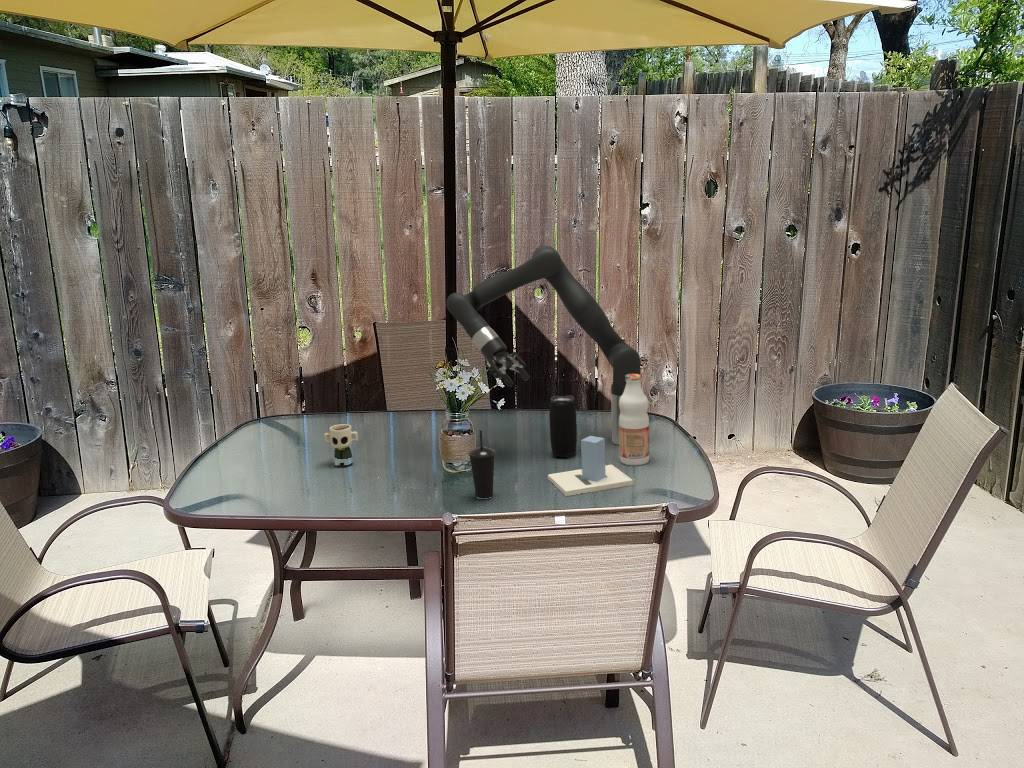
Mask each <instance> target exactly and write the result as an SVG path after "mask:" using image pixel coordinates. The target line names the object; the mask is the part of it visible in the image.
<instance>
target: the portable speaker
mask: <svg viewBox="0 0 1024 768" xmlns="http://www.w3.org/2000/svg"><path fill="white" fill-rule="evenodd" d="M549 399H550V402H549V438H550V448H551V451H552V452H551V453H552V454H551V455H552V457H553V456H554V457H553V458H555V457H557V458H558V457H565V458H566V459H568V458H569V459H571V458H574V457H576V454H577V442H578V441H577V440H578V437H577V436H578V434H577V431H578V430H577V428H578V427H577V425H578V424H577V410H576V404H575V397H574V395H569V394H568V395H553V396H551V397H550V398H549Z"/></svg>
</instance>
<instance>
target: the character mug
mask: <svg viewBox="0 0 1024 768" xmlns="http://www.w3.org/2000/svg"><path fill="white" fill-rule="evenodd" d="M323 435H324V442H325V443H328V444H329V443H330V445H331V447H332V448H333V449H334V456H333V457H335V458H337V459H348V458H351V457H353V453H352V450H351V447H352V445H353V443H354V442H358V441H359V435H358V431H352V425H351V424H348V423H341V424H335V425H332V426H330V427H329V432H326V433H324V434H323ZM353 435H354V438H353ZM328 437H329V438H328ZM350 446H351V447H350Z"/></svg>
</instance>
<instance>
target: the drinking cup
mask: <svg viewBox="0 0 1024 768" xmlns="http://www.w3.org/2000/svg"><path fill="white" fill-rule="evenodd" d="M495 454H496V450H495V449H493V448H490V447H488V446H483V431H482V430H480V429H479V446H478V447H475V448H474V449H473V448H472V449H471V450H468V455H469V460H470V466H471V473H472V478H473V479H472V480H473V485H474V490H475V491H474V492H475V497H476V496H477V497H479V498H489V497H492V496H494V478H495V477H494V474H495ZM492 498H493V497H492Z"/></svg>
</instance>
